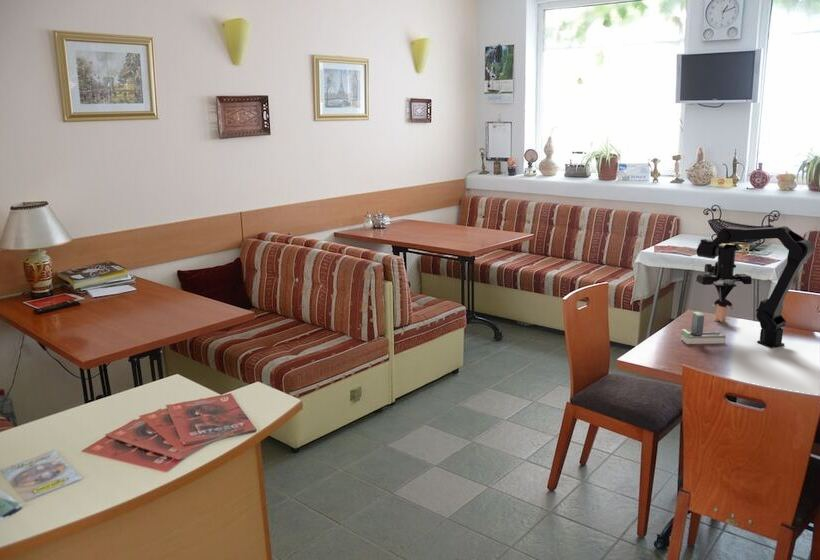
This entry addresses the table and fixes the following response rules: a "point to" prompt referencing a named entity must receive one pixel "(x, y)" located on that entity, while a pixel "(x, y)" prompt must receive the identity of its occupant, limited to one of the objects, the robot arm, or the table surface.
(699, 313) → the fader tab
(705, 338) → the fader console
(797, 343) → the table surface
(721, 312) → the grandmother figurine
